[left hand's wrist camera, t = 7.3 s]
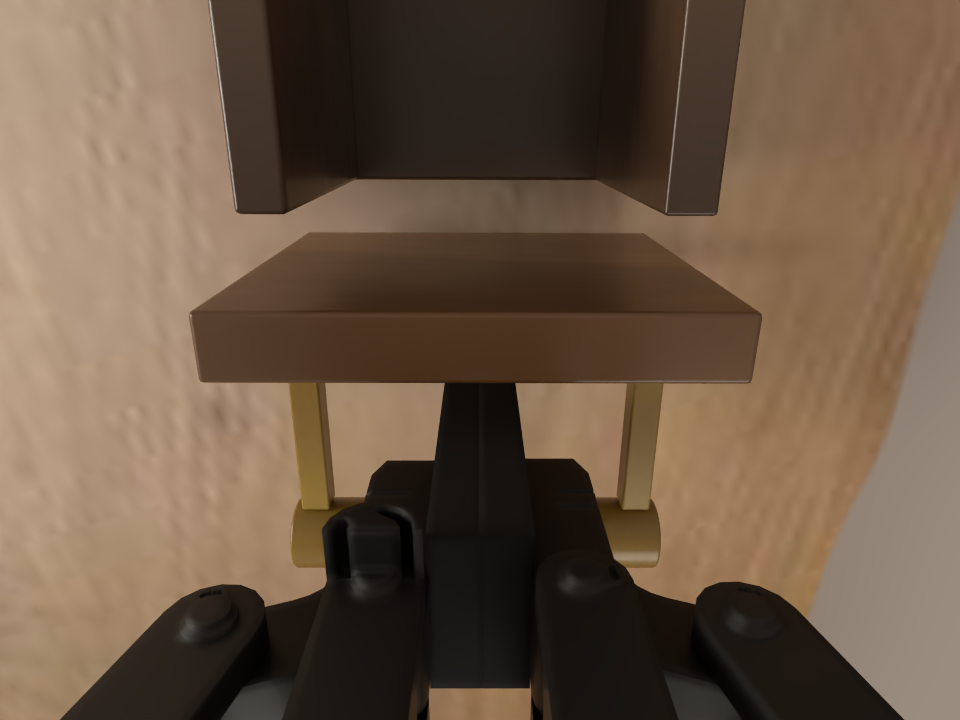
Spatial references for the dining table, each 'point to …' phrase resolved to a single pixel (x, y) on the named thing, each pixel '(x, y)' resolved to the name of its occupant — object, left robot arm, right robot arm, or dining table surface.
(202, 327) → the drawer
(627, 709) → the left robot arm
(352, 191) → the dining table surface
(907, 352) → the dining table surface
